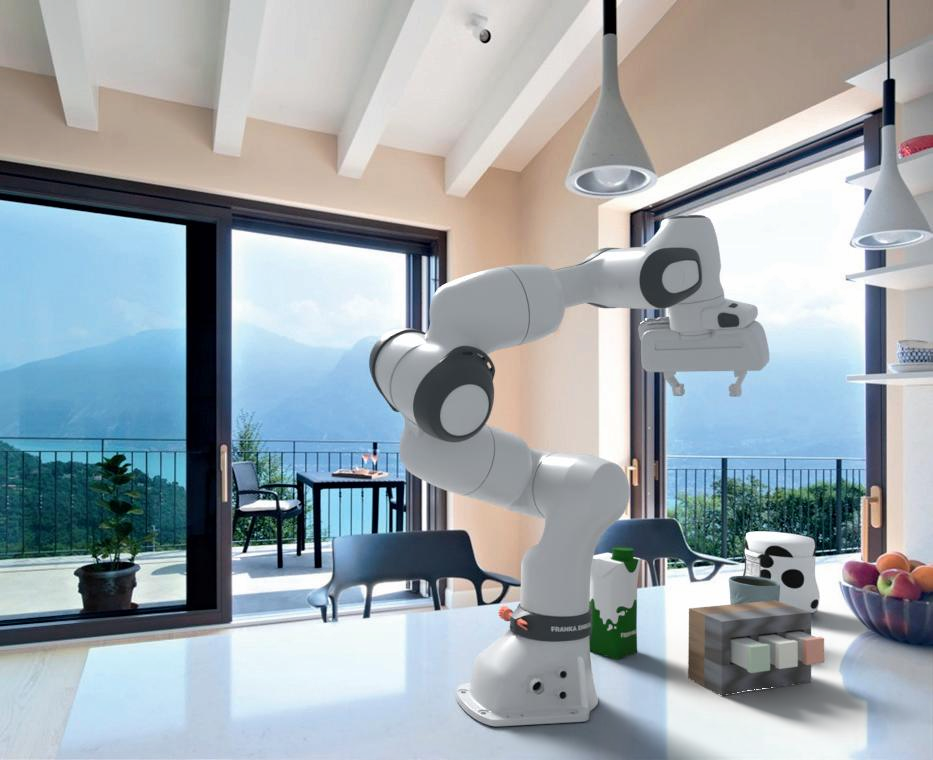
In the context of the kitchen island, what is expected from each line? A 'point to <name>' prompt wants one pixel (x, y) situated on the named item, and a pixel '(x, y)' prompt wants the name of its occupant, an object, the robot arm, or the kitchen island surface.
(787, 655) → the cream button
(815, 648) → the coral button
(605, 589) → the milk carton
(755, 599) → the blue-grey cup
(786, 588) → the milk container
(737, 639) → the sage button
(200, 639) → the kitchen island surface
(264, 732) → the kitchen island surface
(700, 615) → the console
